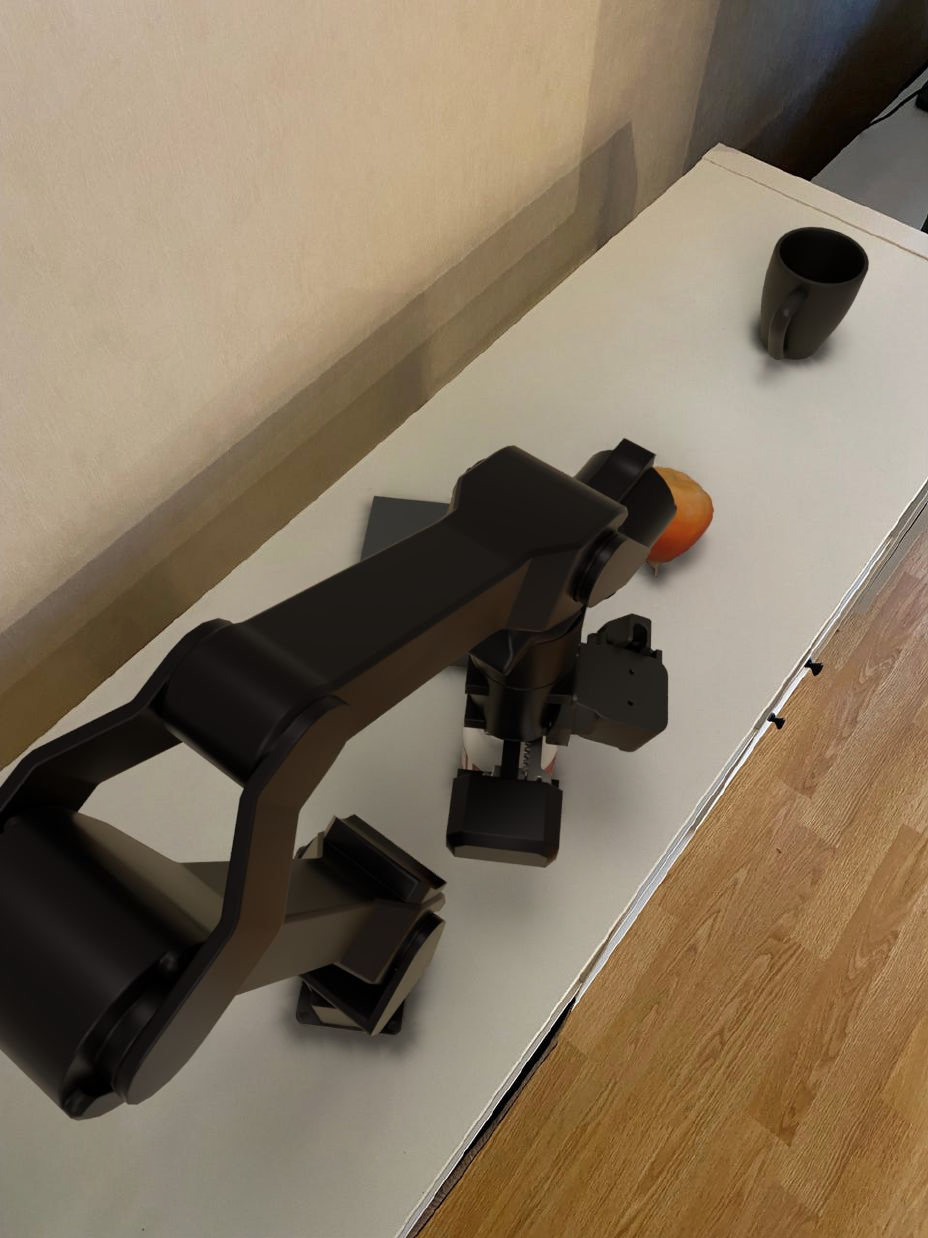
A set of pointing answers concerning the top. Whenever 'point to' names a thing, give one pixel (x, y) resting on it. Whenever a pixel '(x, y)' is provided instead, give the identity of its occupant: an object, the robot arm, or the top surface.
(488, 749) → the pill bottle
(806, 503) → the top surface
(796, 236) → the mug
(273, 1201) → the top surface
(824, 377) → the top surface
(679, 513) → the fruit
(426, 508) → the scale
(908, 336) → the top surface
